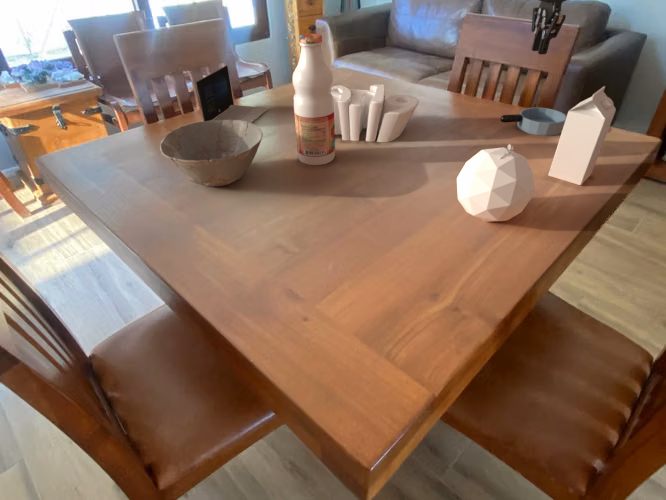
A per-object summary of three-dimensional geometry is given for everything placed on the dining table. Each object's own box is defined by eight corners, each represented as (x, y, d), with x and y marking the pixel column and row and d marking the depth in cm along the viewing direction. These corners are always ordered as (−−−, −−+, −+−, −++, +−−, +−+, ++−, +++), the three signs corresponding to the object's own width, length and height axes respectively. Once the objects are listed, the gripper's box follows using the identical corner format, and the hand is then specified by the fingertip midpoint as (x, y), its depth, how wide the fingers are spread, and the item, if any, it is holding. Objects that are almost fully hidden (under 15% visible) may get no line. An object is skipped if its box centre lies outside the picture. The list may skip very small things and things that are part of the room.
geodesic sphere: (467, 159, 91) (468, 121, 78) (538, 171, 86) (552, 133, 73) (448, 222, 89) (445, 194, 76) (520, 239, 84) (531, 212, 70)
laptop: (243, 131, 122) (235, 85, 114) (204, 127, 125) (194, 82, 117) (268, 110, 135) (263, 67, 127) (233, 107, 139) (226, 64, 131)
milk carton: (547, 176, 97) (574, 91, 85) (559, 165, 101) (586, 82, 89) (580, 186, 93) (613, 98, 81) (591, 174, 97) (624, 89, 85)
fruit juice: (291, 155, 109) (280, 35, 92) (322, 146, 113) (318, 29, 95) (309, 169, 102) (301, 42, 85) (342, 159, 106) (341, 36, 89)
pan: (506, 138, 114) (510, 123, 112) (490, 121, 124) (493, 107, 121) (571, 134, 115) (576, 120, 112) (550, 118, 124) (554, 104, 122)
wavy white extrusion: (285, 136, 118) (281, 98, 112) (302, 115, 131) (300, 80, 125) (412, 146, 111) (416, 105, 105) (417, 122, 124) (421, 85, 118)
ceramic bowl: (257, 150, 112) (252, 113, 105) (276, 192, 94) (271, 150, 88) (169, 164, 106) (159, 126, 100) (172, 211, 89) (159, 167, 83)
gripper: (587, -19, 102) (564, 58, 112) (558, -25, 113) (540, 45, 123) (556, -18, 101) (536, 59, 112) (530, -24, 112) (515, 47, 123)
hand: (538, 51), depth 117 cm, fingers open, 3 cm apart
